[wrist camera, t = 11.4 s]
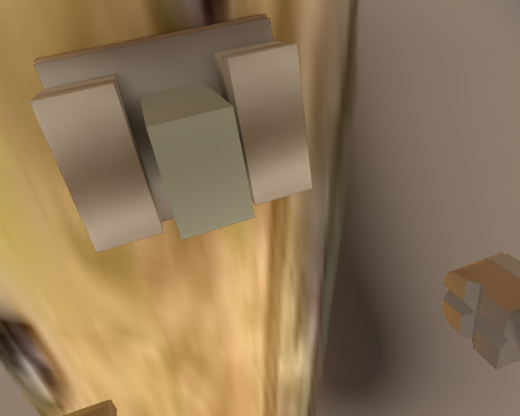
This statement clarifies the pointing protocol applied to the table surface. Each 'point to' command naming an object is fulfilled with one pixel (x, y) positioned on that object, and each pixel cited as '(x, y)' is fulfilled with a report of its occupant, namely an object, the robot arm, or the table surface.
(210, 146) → the block
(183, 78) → the rail board
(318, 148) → the table surface
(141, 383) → the table surface
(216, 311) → the table surface
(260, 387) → the table surface
